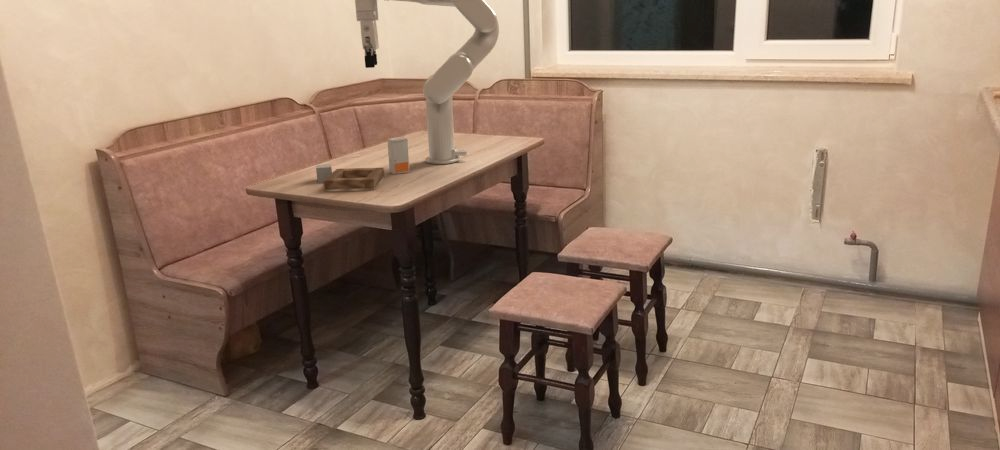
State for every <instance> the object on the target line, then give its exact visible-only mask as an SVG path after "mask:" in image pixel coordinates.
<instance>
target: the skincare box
mask: <svg viewBox="0 0 1000 450" xmlns="http://www.w3.org/2000/svg"><path fill="white" fill-rule="evenodd" d="M408 141H409V140H408V138H406V137H405V136H398V137H392V138H387V149H388V153H387V154H388V164H389V165H388V166H389V168H388V169H389V173H391V174H393V175H396V174H397V175H398V174H405V173H406V174H407V173H410V162H409V161H410V157H409V144H408V143H409V142H408Z"/></svg>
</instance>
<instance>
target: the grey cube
mask: <svg viewBox="0 0 1000 450" xmlns="http://www.w3.org/2000/svg"><path fill="white" fill-rule="evenodd" d="M315 170H316V180H317V184H318V183H324V180H325V179H326V178H327V177H328V176H329V175H331V174H332V173H333V168H332V164H331V163H328V164H327V163H326V164H316V165H315Z"/></svg>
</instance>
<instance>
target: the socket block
mask: <svg viewBox="0 0 1000 450" xmlns="http://www.w3.org/2000/svg"><path fill="white" fill-rule="evenodd" d="M384 179H385V168H384V167H360V168H359V167H358V168H357V167H354V168H353V167H351V168H336V169H335V170H334V171H332V174H331V175H329V176H328V177H327V178H326V179H325V180H324V182H323V185H324V186H323V187H324V192H352V191H355V192H358V191H360V192H361V191H375V190H376V189H377V188H378V187H379V185H380V184H381V183H382V182H383V180H384Z"/></svg>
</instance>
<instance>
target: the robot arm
mask: <svg viewBox="0 0 1000 450" xmlns="http://www.w3.org/2000/svg"><path fill="white" fill-rule="evenodd" d="M385 1H387V2H389V0H385ZM392 1H394V2H395V1H396V2H409V3H418V4H420V5H426V6H441V7H442V6H443V7H451V8H452V7H455V8H456V9H457V10H458V12H460V14H461V15H462V16H463V17H464V18H465V20H467V21H468V22H469V23H470V24H471V26H473V28H474V29H475V30H474V33H473V34H472V36H471V37H470V38H469V39H467V41H466V42H465V43H464V44H463V45H462V46H461V47H460V48H459V49H458V50H457V51H456V52H455V53H453V54H451V55H450V56H449V57H448V59H447V60H446V61H445V62H444V63H443V64H442V65H441V66H440V67H439V68H438V69H437V70H436V71H435V72H434V73H433V74H432V75H430V76H429V77H427V79H426V81H425V82H424V85H423V87H422V90H423V91H422V93H423V96H424V98H425V106H426V107H425V109H426V124H427V139H428V140H427V141H428V143H427V144H428V153H429V154H428V156H427V157H425V163H426V164H430V165H431V164H432V165H445V164H446V165H448V164H453V163H454V164H455V163H457V162H460V157H467V156H468V150H465V149H463V150H462V149H461V150H458V149H457V146H455V131H454V130H455V129H454V111H453V109H454V108H453V107H454V106H453V104H454V103H453V95H454V94H455V93H456V92H457V91H458V90H459V89H460V88H461V87H462V86H463V85H464V84H465V83H466V82H467V81H468V80H469V79H470V77H471V76H472V74H473V71H474V70H475V69H476V68H477V67H478V66H479V65H480V64H481V62H483V61H484V59H485V58H486V57H487V56H488V55H489V54H490V53H491V52H492V50H493V49H494V48H495V46H496V44H497V42H498V39H499V34H500V25H499V21H498V20H499V19H498V16H497V14H496V12H495V10H494V9H493V8H491V6H489V5H488V4H487V2H486V1H485V0H392ZM354 5H355V14H356V15H355V16H356V22H359V25H360V37H361V45H362V49H363V50H364V56H363V57H364V66H365V68H366V69H368V68H371V69H373V68H376V67H375V66H377V65H378V57H377V52H376V51H377V50H378V49H379V47H380V45H379V38H378V27H377V21H379V11H378V0H354Z"/></svg>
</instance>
